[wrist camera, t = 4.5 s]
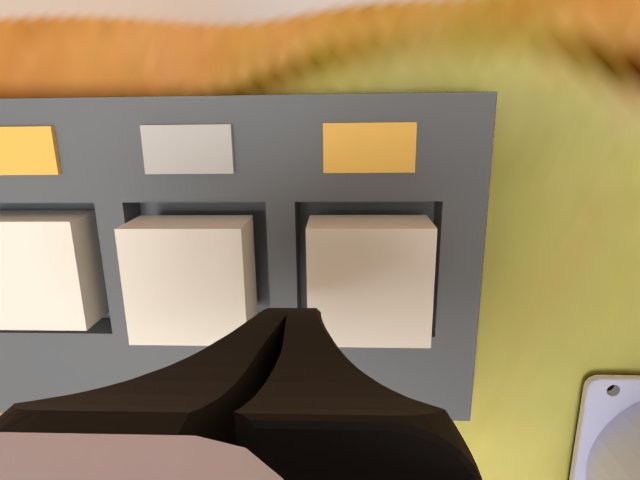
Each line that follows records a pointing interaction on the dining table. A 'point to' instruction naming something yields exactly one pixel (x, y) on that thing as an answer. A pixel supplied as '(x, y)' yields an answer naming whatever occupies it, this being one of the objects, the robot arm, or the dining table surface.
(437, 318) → the button board
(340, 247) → the button near
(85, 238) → the button far
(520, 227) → the dining table surface
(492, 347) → the dining table surface
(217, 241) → the button middle
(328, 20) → the dining table surface
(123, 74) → the dining table surface
